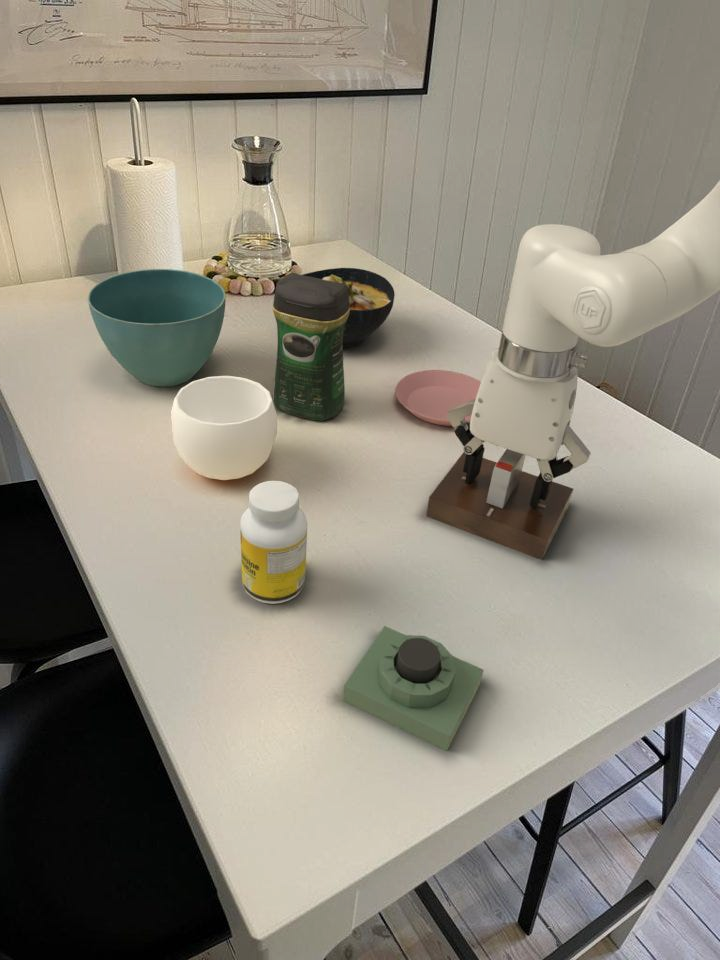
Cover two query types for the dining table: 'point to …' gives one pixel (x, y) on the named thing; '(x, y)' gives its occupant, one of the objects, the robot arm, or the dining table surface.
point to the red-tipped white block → (505, 477)
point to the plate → (436, 394)
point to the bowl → (361, 301)
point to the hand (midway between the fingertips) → (503, 488)
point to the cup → (224, 426)
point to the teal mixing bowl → (159, 322)
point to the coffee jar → (310, 346)
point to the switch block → (413, 690)
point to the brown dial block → (499, 509)
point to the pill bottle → (273, 543)
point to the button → (418, 660)
